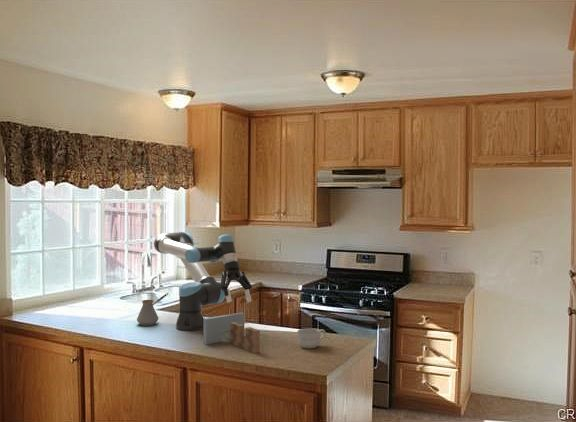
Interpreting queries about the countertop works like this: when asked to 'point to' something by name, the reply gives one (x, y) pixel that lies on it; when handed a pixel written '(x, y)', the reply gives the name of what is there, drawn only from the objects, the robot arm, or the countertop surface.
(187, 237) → the robot arm
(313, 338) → the teacup
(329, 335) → the countertop surface
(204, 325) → the slate plate
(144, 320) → the coffee pot
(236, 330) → the walnut board
